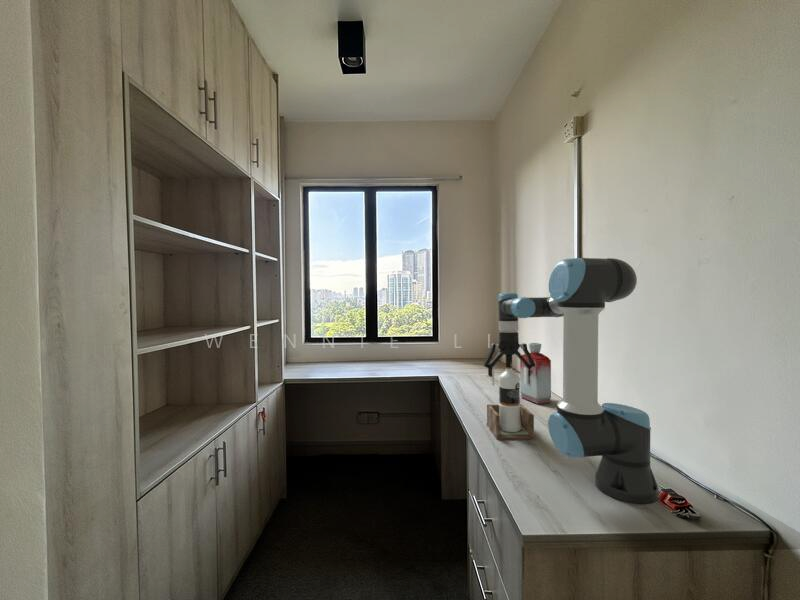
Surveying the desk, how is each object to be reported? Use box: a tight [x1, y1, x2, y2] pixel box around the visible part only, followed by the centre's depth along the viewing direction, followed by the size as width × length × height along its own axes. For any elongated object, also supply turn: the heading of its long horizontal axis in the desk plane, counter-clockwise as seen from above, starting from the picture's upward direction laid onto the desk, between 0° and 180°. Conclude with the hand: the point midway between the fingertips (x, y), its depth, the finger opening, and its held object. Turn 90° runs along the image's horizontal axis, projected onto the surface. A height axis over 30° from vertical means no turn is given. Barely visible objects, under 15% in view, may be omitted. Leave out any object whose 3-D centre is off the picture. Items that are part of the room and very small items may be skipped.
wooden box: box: [486, 403, 536, 441], centre depth 149 cm, size 16×14×9 cm
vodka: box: [497, 355, 522, 432], centre depth 148 cm, size 9×9×30 cm
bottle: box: [519, 342, 552, 405], centre depth 193 cm, size 14×10×30 cm
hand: (509, 384), depth 148 cm, fingers open, 13 cm apart
